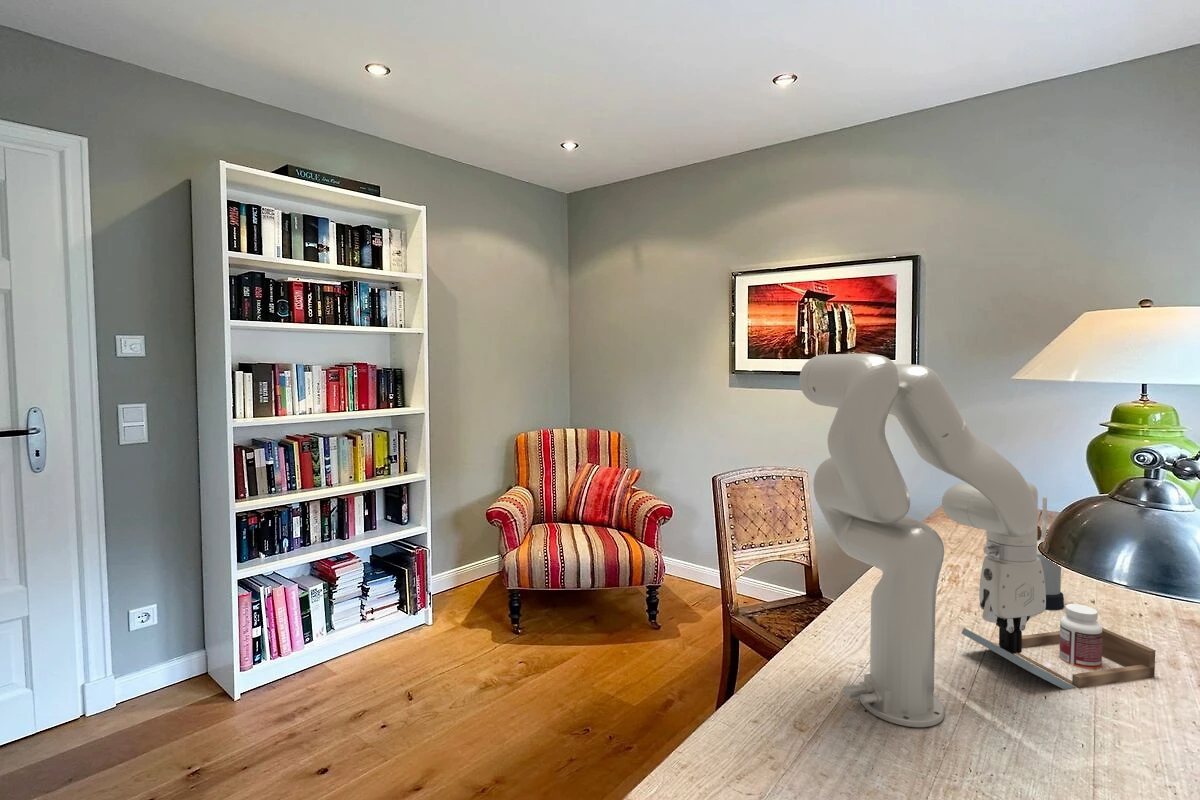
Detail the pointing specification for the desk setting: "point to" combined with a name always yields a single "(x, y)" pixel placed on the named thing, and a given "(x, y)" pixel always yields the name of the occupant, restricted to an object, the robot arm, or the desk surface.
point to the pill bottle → (1081, 637)
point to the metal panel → (1017, 660)
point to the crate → (1114, 648)
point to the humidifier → (1050, 571)
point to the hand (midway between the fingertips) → (1010, 649)
